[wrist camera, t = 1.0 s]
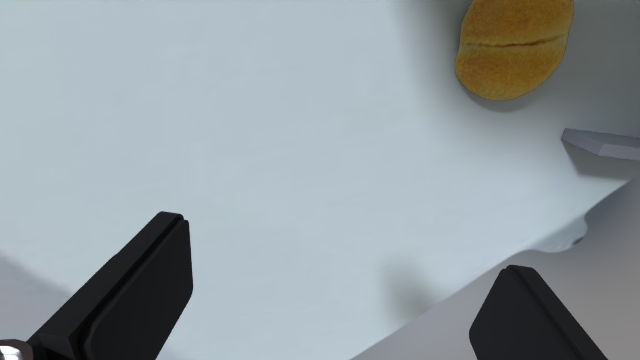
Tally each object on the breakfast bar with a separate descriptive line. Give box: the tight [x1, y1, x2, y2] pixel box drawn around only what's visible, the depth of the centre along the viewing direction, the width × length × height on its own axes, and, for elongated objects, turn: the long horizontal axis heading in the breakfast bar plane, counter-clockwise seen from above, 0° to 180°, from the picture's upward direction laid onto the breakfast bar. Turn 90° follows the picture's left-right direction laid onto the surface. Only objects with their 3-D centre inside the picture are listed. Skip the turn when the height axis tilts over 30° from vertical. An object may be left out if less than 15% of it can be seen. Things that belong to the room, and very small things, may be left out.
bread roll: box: [455, 0, 574, 100], centre depth 24 cm, size 8×9×4 cm
